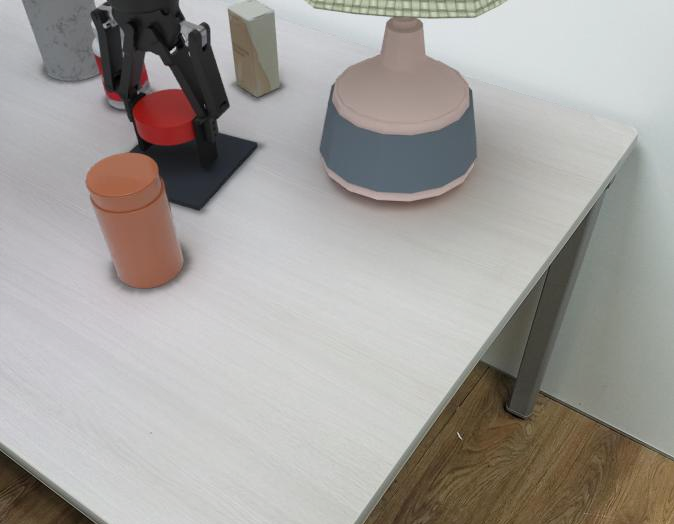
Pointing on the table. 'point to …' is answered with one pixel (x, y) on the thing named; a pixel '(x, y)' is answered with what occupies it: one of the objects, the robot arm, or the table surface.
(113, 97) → the pill bottle
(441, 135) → the desk lamp
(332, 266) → the table surface
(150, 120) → the lid
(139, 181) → the jar
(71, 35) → the gray plant pot
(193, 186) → the coaster
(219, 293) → the table surface
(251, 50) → the box
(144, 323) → the table surface
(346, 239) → the table surface
